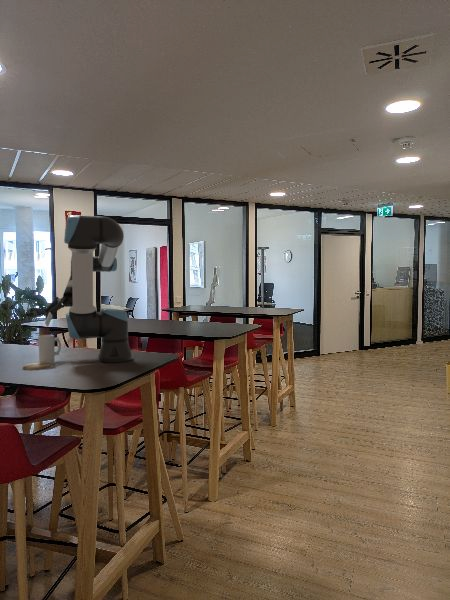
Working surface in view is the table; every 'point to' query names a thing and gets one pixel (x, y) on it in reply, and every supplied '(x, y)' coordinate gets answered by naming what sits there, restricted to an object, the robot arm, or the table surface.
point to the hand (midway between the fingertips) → (60, 325)
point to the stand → (36, 366)
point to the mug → (48, 348)
